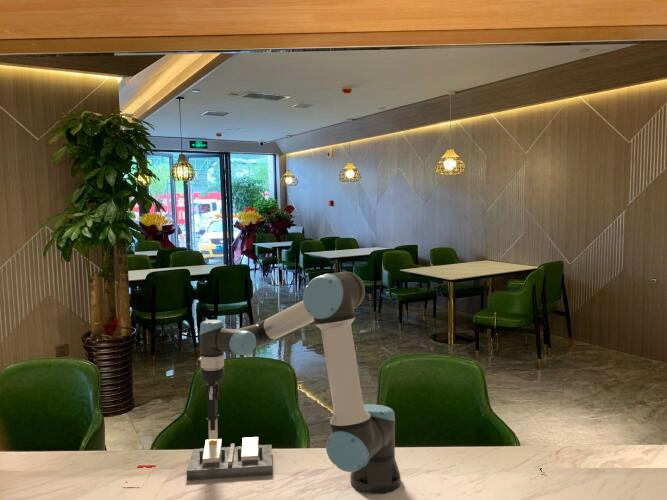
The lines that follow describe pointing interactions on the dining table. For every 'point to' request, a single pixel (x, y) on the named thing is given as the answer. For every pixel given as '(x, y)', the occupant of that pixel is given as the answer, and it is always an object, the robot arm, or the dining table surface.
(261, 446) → the breaker box
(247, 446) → the breaker right
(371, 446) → the robot arm
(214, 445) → the breaker left
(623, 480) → the dining table surface
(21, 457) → the dining table surface
